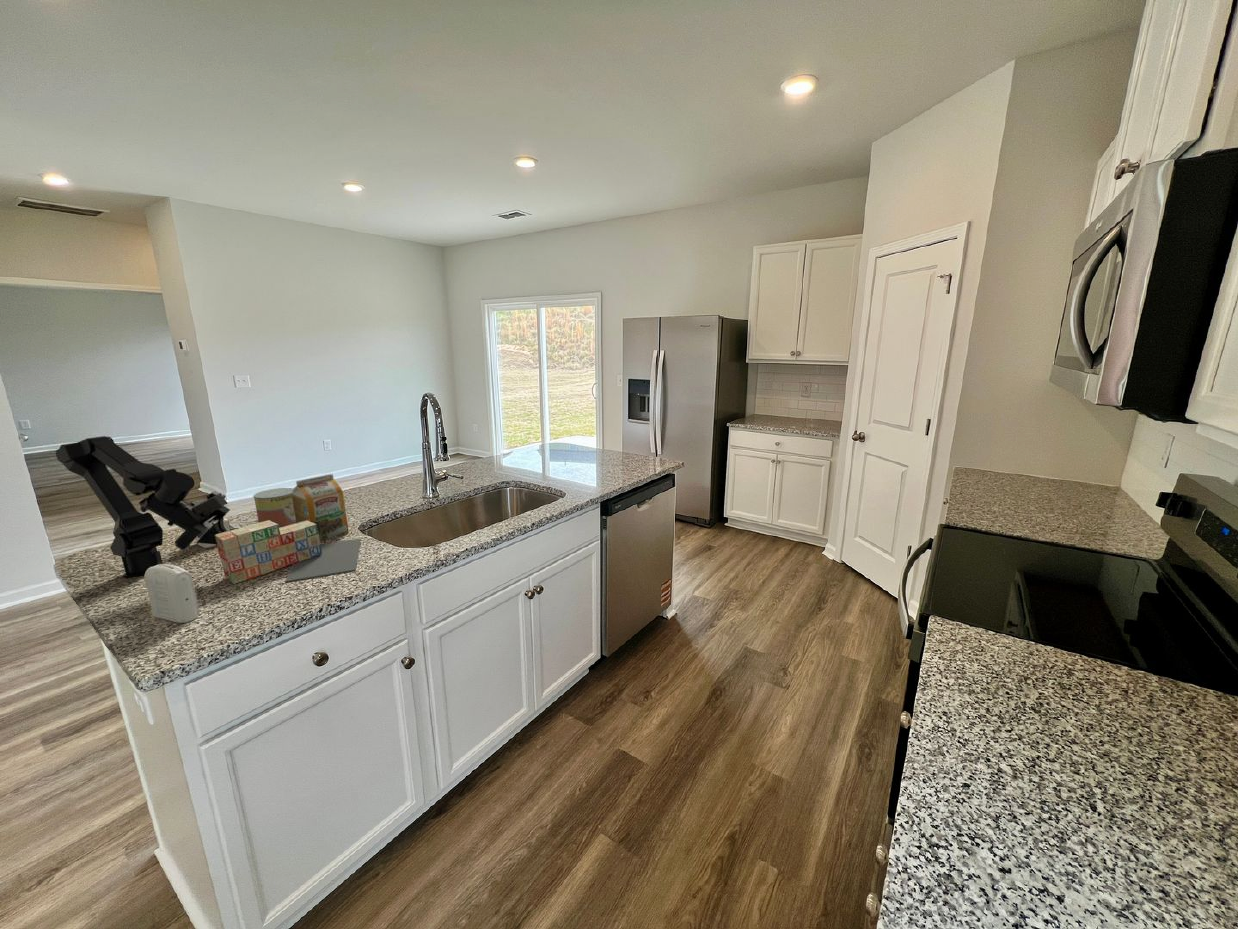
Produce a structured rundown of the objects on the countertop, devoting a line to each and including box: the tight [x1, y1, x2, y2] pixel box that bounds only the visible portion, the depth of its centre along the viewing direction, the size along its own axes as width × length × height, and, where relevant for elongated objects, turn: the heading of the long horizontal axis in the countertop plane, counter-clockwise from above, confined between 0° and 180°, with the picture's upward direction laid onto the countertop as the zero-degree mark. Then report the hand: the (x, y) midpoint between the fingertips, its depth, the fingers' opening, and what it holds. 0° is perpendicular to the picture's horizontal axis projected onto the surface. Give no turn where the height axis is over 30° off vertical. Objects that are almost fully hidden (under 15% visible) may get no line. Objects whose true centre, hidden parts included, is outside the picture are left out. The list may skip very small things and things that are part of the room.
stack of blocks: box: [215, 520, 322, 585], centre depth 133 cm, size 21×6×12 cm, turn 143°
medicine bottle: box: [194, 517, 232, 549], centre depth 150 cm, size 7×7×12 cm
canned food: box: [253, 487, 296, 528], centre depth 163 cm, size 11×11×12 cm
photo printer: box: [143, 563, 200, 624], centre depth 108 cm, size 10×4×12 cm, turn 72°
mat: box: [285, 538, 361, 583], centre depth 139 cm, size 16×24×1 cm, turn 24°
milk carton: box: [291, 473, 350, 543], centre depth 155 cm, size 11×11×19 cm
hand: (236, 544), depth 130 cm, fingers closed
